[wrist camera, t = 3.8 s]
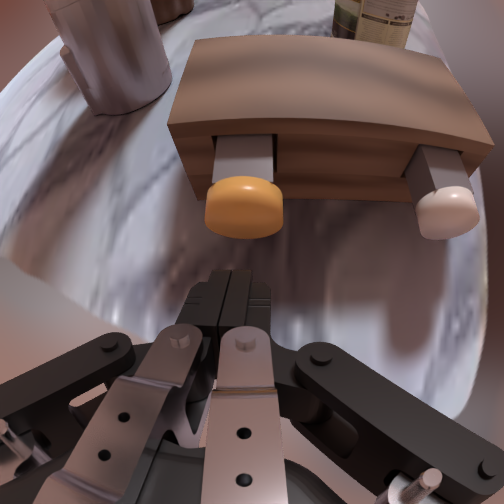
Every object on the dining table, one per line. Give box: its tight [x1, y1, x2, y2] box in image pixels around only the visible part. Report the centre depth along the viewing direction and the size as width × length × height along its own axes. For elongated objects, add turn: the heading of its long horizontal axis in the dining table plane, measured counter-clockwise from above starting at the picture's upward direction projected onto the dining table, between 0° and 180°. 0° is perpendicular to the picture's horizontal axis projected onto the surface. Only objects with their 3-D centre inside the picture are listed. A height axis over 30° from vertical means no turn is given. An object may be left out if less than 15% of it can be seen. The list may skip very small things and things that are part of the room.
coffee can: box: [331, 0, 418, 49], centre depth 23 cm, size 10×10×14 cm
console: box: [167, 35, 495, 203], centre depth 19 cm, size 10×20×8 cm, turn 89°
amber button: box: [204, 134, 283, 239], centre depth 16 cm, size 6×4×4 cm, turn 179°
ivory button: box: [404, 144, 480, 240], centre depth 16 cm, size 6×4×4 cm, turn 179°
